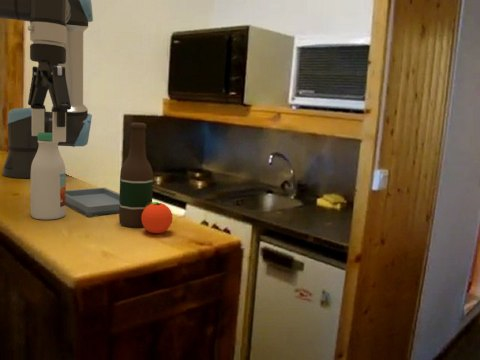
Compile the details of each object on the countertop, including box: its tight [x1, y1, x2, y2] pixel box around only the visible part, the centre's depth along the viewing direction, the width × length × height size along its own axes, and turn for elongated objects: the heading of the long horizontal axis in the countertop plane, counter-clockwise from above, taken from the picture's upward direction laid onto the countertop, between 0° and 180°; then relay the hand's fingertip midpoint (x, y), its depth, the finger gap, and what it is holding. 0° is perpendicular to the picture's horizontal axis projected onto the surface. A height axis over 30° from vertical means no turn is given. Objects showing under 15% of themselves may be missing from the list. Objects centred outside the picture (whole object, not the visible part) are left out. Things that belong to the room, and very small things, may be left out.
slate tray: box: [66, 187, 120, 218], centre depth 122 cm, size 20×14×2 cm
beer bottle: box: [118, 122, 154, 229], centre depth 105 cm, size 8×8×24 cm
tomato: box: [141, 201, 173, 234], centre depth 101 cm, size 8×7×7 cm
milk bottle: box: [30, 133, 67, 221], centre depth 107 cm, size 8×8×20 cm
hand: (48, 138), depth 105 cm, fingers open, 13 cm apart
